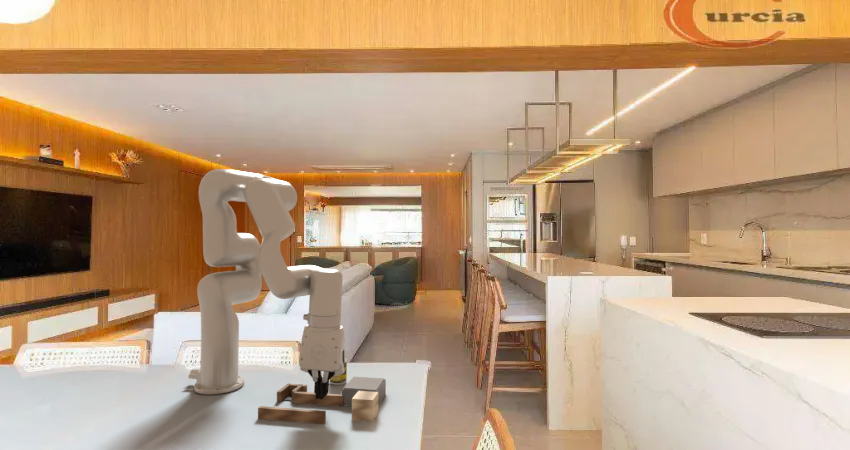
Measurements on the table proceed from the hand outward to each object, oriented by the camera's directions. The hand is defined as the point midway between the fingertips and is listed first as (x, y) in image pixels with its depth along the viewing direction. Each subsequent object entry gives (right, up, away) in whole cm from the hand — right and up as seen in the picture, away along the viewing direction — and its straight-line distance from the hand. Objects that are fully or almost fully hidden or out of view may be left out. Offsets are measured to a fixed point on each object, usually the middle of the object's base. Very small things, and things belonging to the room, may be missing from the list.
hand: (321, 396), depth 105 cm
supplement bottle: (0, -4, +20) cm, 21 cm away
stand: (+9, -4, +8) cm, 13 cm away
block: (+11, -4, -2) cm, 12 cm away
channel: (-4, -4, +3) cm, 6 cm away
